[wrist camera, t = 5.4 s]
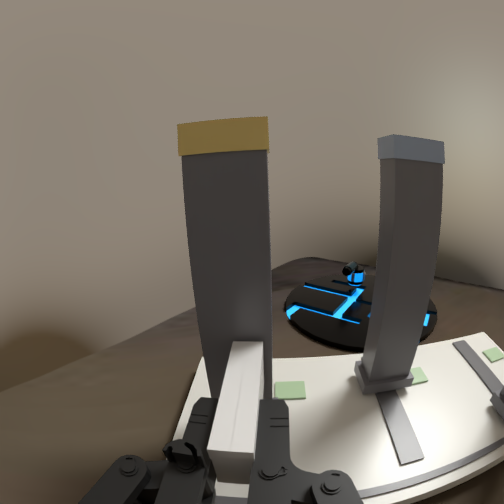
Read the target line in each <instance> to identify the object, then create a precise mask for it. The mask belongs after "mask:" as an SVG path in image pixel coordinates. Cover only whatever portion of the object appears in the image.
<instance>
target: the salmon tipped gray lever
mask: <svg viewBox="0 0 504 504" xmlns="http://www.w3.org/2000/svg"><path fill="white" fill-rule="evenodd" d="M490 402H491V403H492V405H493V406H494V407H495V409H496V410H497V412H498V413H499V415H500V416H501V418H502V419H503V421H504V386H503V388H502V389H499V390H497V391H495V392H494V394H493V395H492V397H491V399H490Z"/></svg>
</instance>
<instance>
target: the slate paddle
mask: <svg viewBox="0 0 504 504" xmlns="http://www.w3.org/2000/svg"><path fill="white" fill-rule="evenodd" d="M378 159H380V165H381V167H380V173H381V187H380V188H381V189H380V190H381V191H380V223H379V241H378V253H377V265H376V274H375V283H374V291H373V299H372V306H371V313H370V319H369V325H368V331H367V337H366V342H365V347H364V352H363V357H362V361H356V362H355V367H354V372H355V375H356V378H357V380H358V383H359V386H360V389H361V392H362V395H364V394H371V393H378V392H384V391H390V390H396V389H401V388H406V387H411V385H412V382H413V380H414V376H413V375H412V373H411V371H410V369H411V366H412V363H413V360H414V357H415V354H416V350H417V347H418V344H419V340H420V337H421V333H422V329H423V325H424V321H425V317H426V313H427V309H428V304H429V299H430V294H431V289H432V284H433V278H434V272H435V266H436V260H437V252H438V244H439V235H440V225H441V211H442V188H443V164H444V163H445V158H444V142H441V141H436V140H430V139H423V138H417V137H410V136H402V135H394V134H393V135H389V136H385V137H381V138H378Z"/></svg>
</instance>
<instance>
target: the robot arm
mask: <svg viewBox="0 0 504 504" xmlns="http://www.w3.org/2000/svg"><path fill="white" fill-rule="evenodd" d="M263 390H264V360H263V342H252V341H233V343H232V347H231V351H230V356H229V360H228V364H227V368H226V372H225V376H224V380H223V385H222V389H221V393H220V397H219V398H208V397H200V398H199V399H198V401H197V402H196V403H195V404H194V405H193V408H192V411H191V415H190V417H189V420H188V423H187V426H186V429H185V432H184V435H183V438H182V439H177V440H173V441H171V442H169V443H168V444H166V445H165V447H164V448H163V452H164V454H165V456H166V458H167V459H166V460H162V461H146V462H144V460H143V459H141V458H140V457H138V456H135V455H125V456H122V457H120V458H118V459H117V460H116V461H115V462H114V463H113V464H112V466H111V467H110V468H109V469H108V470H107V471H106V472H105V474H104V475H103V476H102V477H101V478H100V479H99V480H98V482H97V483H96V484H95V485H94V486H93V487H92V488H91V489H90V491H89V492H88V493H87V494H86V495H85V496H84V497H83V498H82V500H81V501H80V502H79V503H78V504H214V502H215V497H216V489H215V482H216V478H217V481H218V482H222V483H233V484H249V491H248V500H247V504H364V503H363V501H362V499H361V497H360V495H359V493H358V491H357V489H356V487H355V485H354V483H353V481H352V479H351V478H350V477H349V475H348V474H346V473H344V472H343V471H340V470H327V471H324V472H322V473H320V474H317V473H312V472H307V471H304V470H301V469H299V468H298V467H296V466H295V465H294V464H293V462H292V461H291V458H290V433H289V407H288V406H287V404H286V402H285V401H284V399H263Z"/></svg>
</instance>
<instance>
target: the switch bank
mask: <svg viewBox="0 0 504 504" xmlns="http://www.w3.org/2000/svg"><path fill="white" fill-rule="evenodd" d="M362 357H363V353H362V354H352V355H340V356H327V357H310V358H282V359H272V374H273V397H278V399H284V401H285V402H286V404H287V406H288V407H289V433H290V458H291V461H292V462H293V464H294V465H295V466H296V467H298V468H299V469H301V470H304V471H307V472H312V473H317V474H320V473H322V472H324V471H327V470H340V471H343V472H344V473H346V474H348V475H349V477H350V478H351V479H352V481H353V483H354V485H355V487H356V489H357V491H358V493H359V495H360V497H361V499H362V501H363V503H364V504H411V503H414V502H417V501H420V500H423V499H426V498H428V497H431V496H434V495H436V494H439V493H441V492H444V491H446V490H448V489H450V488H453V487H455V486H457V485H459V484H461V483H463V482H466V481H468V480H470V479H472V478H474V477H475V476H477V475H479V474H481V473H483V472H485V471H487V470H488V469H490V468H492V467H493V466H495V465H497V464H498V463H500V462H502V461H503V460H504V421H503V419H502V418H501V416H500V415H499V413H498V412H497V410H496V409H495V407H494V406H493V405H492V403H491V402H490V399H491V397H492V395H493V394H494V392H495V391H497V390H499V389H502V388H503V386H504V352H503V351H502V350H501V349H500V348H499V347H498V346H497V345H496V344H495V343H494V342H493V341H492V340H491V339H490V338H489V337H488V336H487V335H486V334H485V333H484V332H482V333H478V334H474V335H470V336H465V337H461V338H457V339H452V340H447V341H442V342H437V343H432V344H426V345H421V346H418V347H417V350H416V354H415V357H414V360H413V363H412V366H411V369H410V371H411V373H412V375H413V376H414V380H413V382H412V385H411V387H406V388H401V389H396V390H390V391H384V392H378V393H371V394H364V395H362V392H361V389H360V386H359V383H358V380H357V378H356V375H355V372H354V367H355V362H356V361H362ZM200 397H208V398H211V394H210V389H209V384H208V379H207V373H206V368H205V362H204V357H202V358H201V361H200V364H199V367H198V370H197V372H196V375H195V378H194V381H193V384H192V386H191V389H190V392H189V395H188V398H187V400H186V403H185V406H184V409H183V412H182V415H181V418H180V420H179V423H178V426H177V429H176V432H175V435H174V438H173V440H177V439H182V438H183V435H184V432H185V429H186V426H187V423H188V420H189V417H190V415H191V411H192V408H193V405H194V404H195V403H196V402H197V401H198V399H199V398H200ZM173 440H172V441H173ZM166 459H167V458H166ZM215 489H216V497H215V502H214V504H247V500H248V491H249V484H233V483H222V482H218V481H217V478H216V482H215Z"/></svg>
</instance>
